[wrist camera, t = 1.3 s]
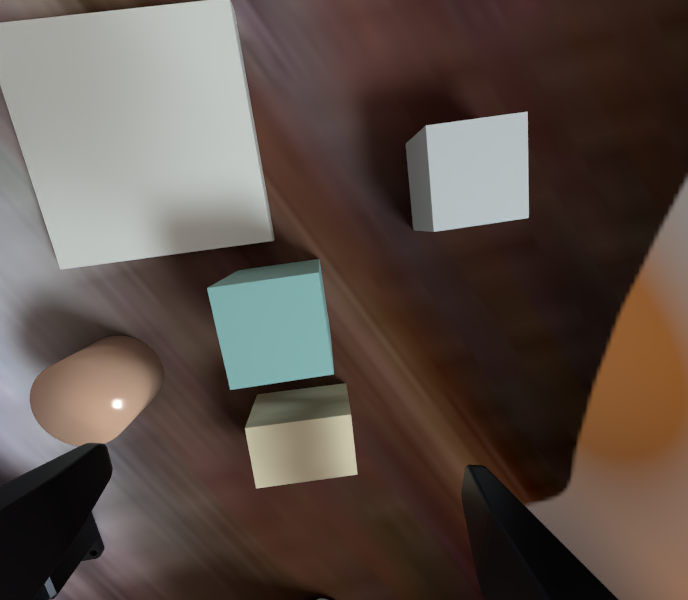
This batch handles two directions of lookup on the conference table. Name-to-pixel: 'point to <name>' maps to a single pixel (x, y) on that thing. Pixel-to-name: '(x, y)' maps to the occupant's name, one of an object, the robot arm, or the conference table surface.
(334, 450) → the birch block
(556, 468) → the conference table surface
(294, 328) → the teal block
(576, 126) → the conference table surface
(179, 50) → the pad
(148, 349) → the tan rounded lump
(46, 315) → the conference table surface
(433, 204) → the grey block
